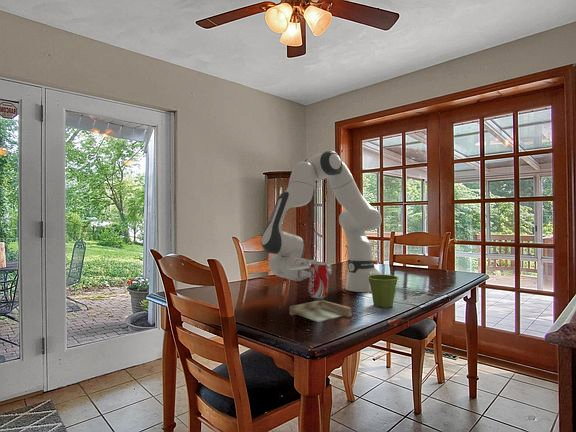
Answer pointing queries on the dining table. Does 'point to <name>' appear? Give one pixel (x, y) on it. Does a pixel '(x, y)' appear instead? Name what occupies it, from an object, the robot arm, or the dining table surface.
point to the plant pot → (383, 289)
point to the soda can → (318, 280)
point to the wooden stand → (320, 310)
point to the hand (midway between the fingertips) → (320, 273)
